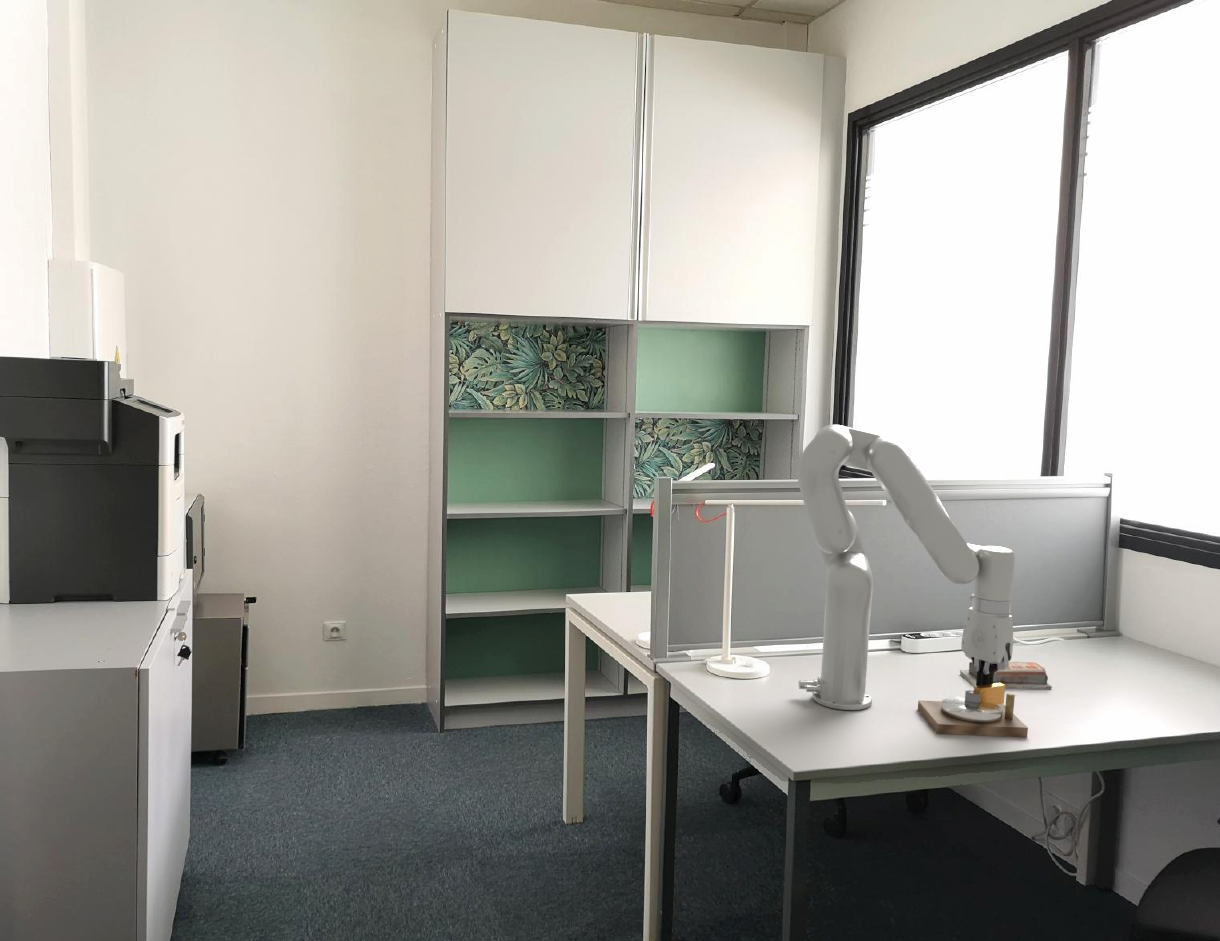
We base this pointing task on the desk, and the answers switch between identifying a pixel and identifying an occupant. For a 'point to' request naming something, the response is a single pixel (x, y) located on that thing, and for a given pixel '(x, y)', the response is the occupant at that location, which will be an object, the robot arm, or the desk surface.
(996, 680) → the packaged product
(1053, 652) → the desk surface
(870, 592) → the robot arm
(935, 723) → the board
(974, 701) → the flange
